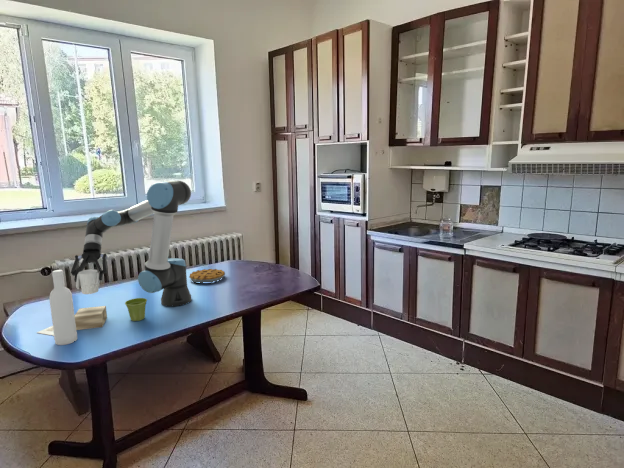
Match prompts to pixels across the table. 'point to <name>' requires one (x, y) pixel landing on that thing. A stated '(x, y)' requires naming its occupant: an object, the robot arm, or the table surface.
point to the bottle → (62, 311)
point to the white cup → (88, 281)
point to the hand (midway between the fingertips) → (87, 287)
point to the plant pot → (136, 308)
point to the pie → (207, 275)
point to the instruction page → (47, 331)
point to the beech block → (90, 317)
